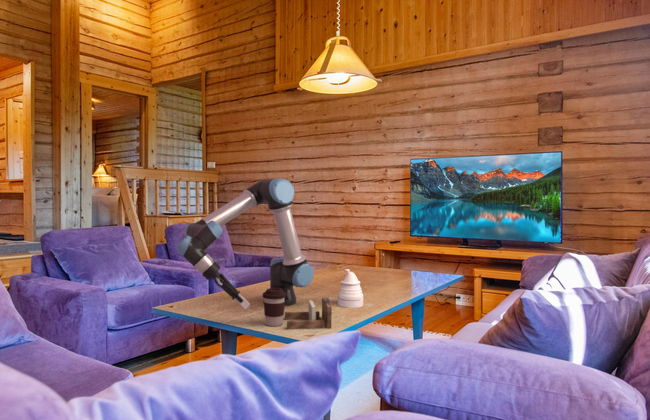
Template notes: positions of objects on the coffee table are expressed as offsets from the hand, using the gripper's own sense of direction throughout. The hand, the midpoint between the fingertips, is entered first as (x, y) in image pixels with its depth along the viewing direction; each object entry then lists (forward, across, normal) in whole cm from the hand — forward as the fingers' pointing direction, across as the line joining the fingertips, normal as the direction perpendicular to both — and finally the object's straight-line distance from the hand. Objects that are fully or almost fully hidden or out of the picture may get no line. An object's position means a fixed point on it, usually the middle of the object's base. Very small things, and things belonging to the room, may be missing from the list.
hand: (247, 306), depth 195 cm
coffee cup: (+14, 0, +2) cm, 14 cm away
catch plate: (+24, 0, +14) cm, 28 cm away
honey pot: (+41, -32, +31) cm, 60 cm away
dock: (+23, 0, +13) cm, 27 cm away
